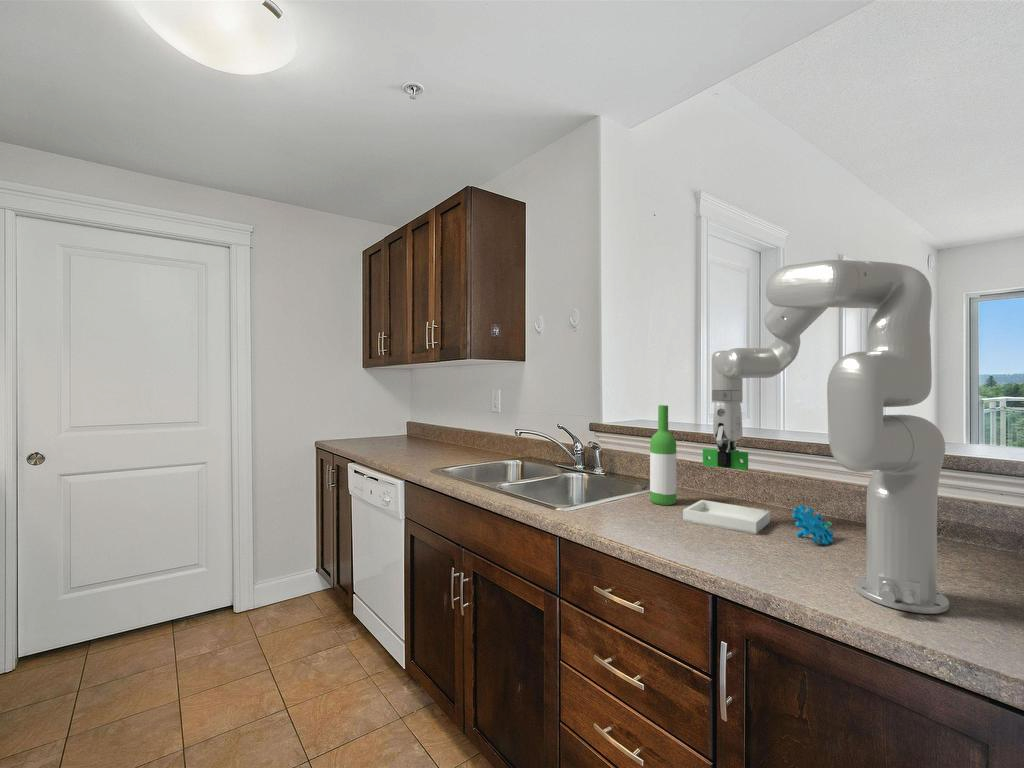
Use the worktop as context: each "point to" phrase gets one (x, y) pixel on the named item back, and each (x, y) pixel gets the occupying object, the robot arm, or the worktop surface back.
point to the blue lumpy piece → (812, 525)
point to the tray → (727, 516)
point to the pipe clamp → (734, 459)
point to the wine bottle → (663, 462)
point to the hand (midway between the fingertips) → (726, 465)
